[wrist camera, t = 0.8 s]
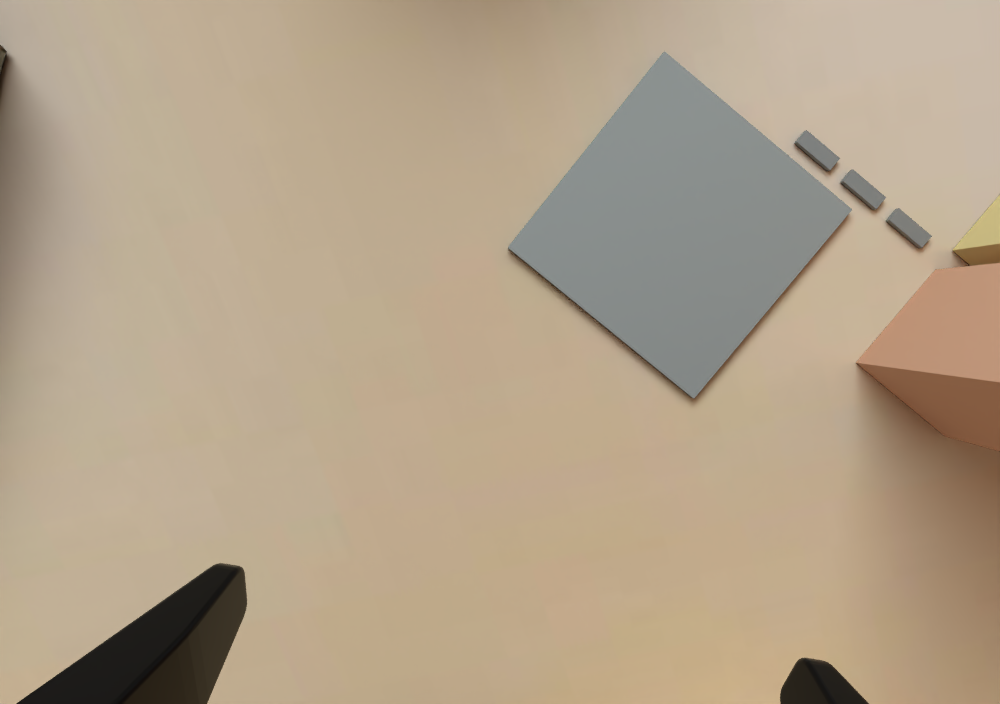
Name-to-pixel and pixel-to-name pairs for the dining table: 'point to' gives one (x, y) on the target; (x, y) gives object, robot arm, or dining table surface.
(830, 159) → the perforation marks
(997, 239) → the block
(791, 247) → the coaster
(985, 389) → the stub
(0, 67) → the beverage carton
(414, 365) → the dining table surface
